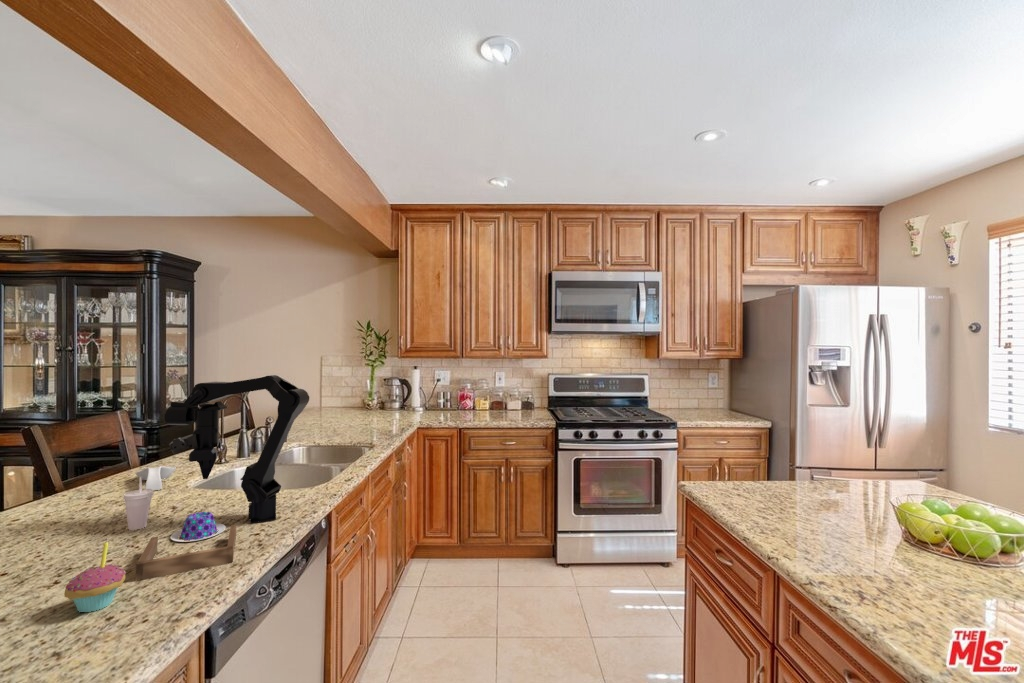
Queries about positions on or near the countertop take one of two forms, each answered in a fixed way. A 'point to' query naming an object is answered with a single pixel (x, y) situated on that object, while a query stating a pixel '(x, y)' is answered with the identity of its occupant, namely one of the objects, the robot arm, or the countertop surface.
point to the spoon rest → (155, 476)
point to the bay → (183, 559)
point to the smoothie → (138, 506)
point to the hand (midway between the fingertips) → (205, 478)
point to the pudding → (198, 527)
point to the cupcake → (95, 585)
